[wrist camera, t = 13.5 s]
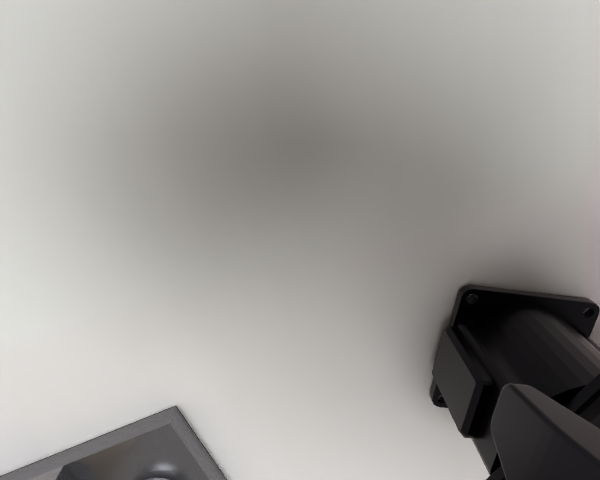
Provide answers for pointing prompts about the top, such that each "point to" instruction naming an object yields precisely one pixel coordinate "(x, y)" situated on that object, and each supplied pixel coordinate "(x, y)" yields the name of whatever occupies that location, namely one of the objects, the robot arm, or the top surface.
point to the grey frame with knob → (131, 455)
